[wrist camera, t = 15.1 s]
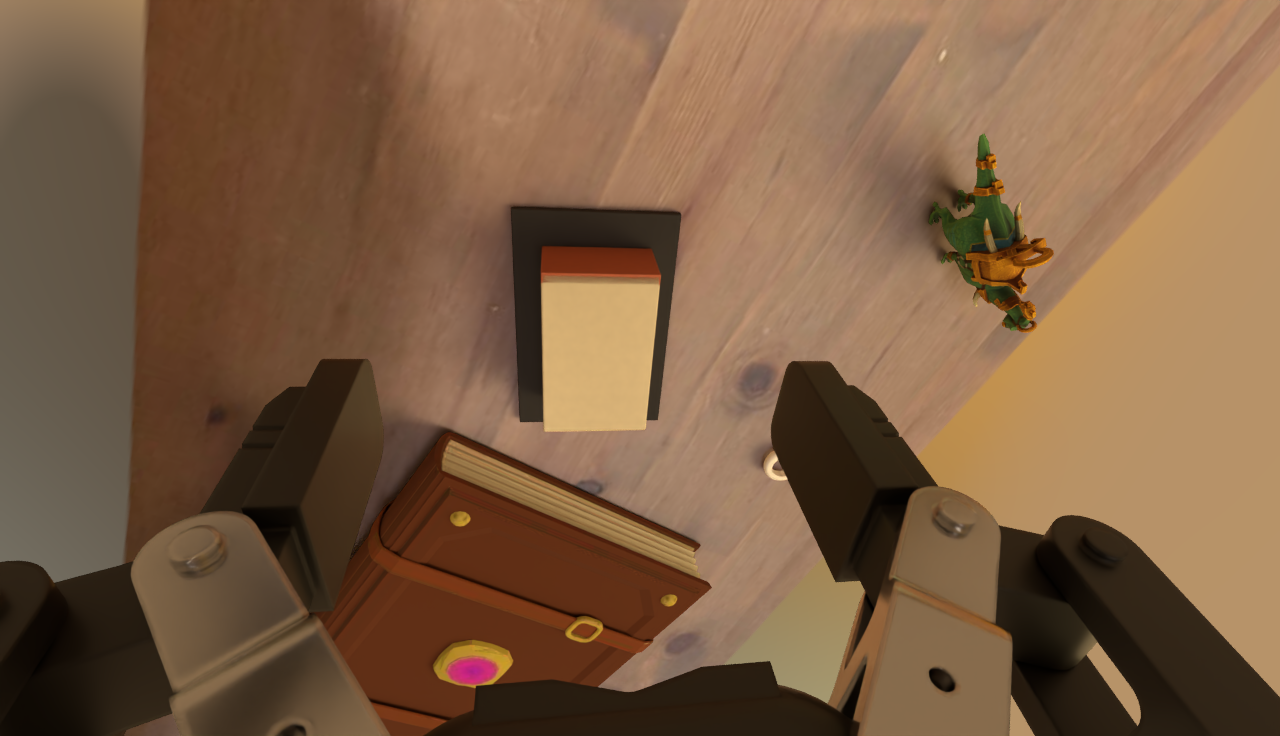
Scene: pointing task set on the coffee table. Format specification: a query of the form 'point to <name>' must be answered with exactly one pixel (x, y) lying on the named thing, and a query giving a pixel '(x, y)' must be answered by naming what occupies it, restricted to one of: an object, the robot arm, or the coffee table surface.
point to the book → (499, 587)
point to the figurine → (993, 245)
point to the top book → (597, 336)
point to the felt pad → (583, 231)
